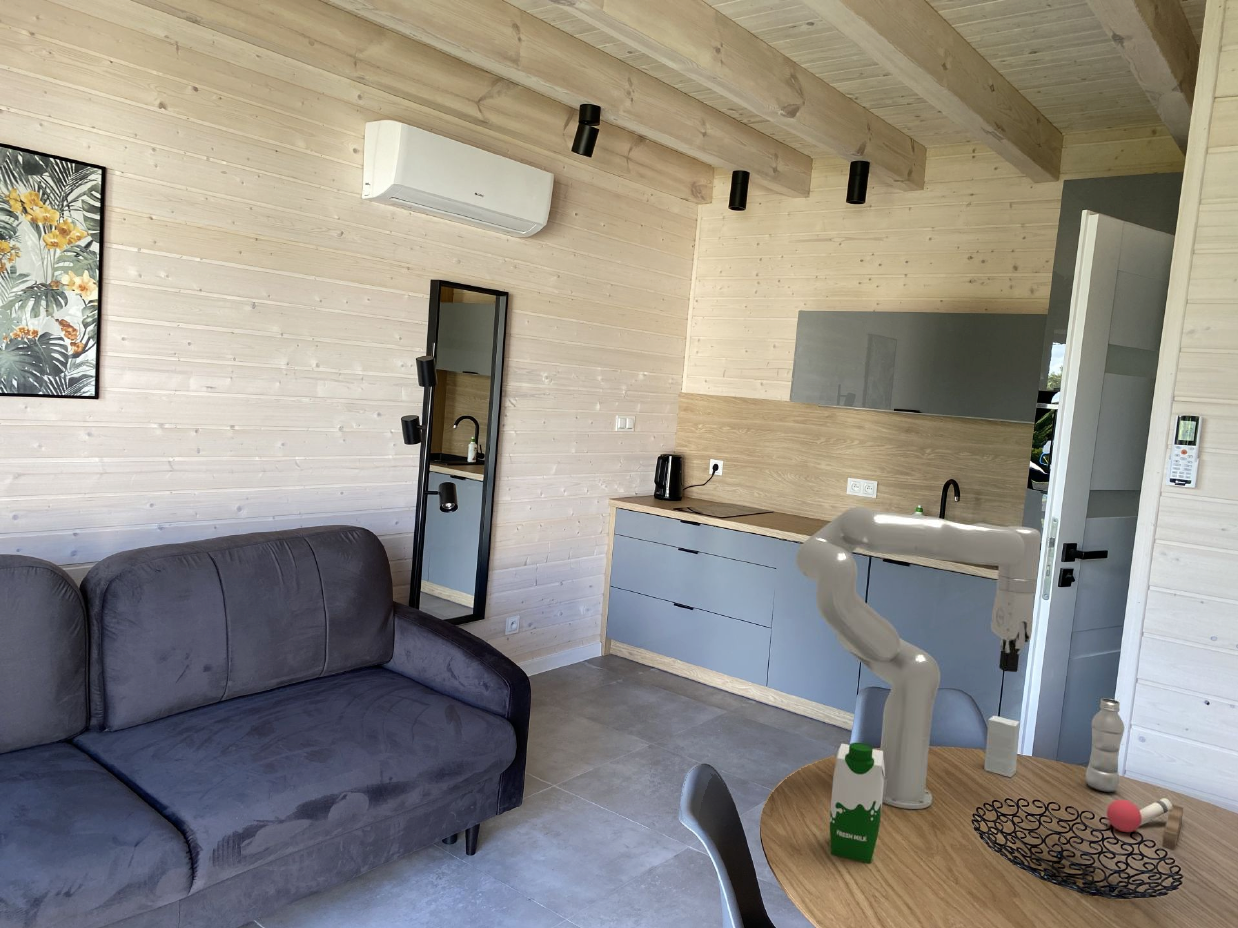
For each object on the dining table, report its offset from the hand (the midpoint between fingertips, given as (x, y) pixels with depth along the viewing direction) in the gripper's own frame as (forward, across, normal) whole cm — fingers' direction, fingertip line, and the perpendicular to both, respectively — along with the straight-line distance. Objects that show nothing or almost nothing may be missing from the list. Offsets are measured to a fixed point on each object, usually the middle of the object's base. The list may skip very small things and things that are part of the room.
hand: (1008, 670), depth 189 cm
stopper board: (+27, +13, +30) cm, 42 cm away
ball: (+24, +13, +20) cm, 34 cm away
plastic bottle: (+27, -7, +26) cm, 38 cm away
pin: (+26, +11, +24) cm, 37 cm away
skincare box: (+27, -13, +6) cm, 31 cm away
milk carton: (+27, +30, -38) cm, 56 cm away
